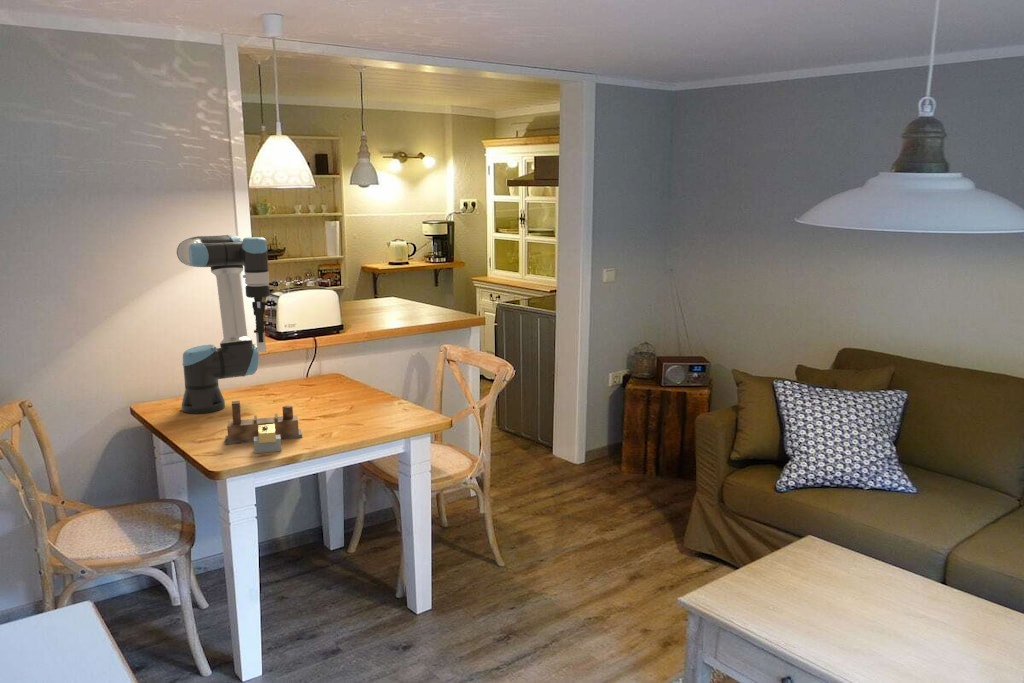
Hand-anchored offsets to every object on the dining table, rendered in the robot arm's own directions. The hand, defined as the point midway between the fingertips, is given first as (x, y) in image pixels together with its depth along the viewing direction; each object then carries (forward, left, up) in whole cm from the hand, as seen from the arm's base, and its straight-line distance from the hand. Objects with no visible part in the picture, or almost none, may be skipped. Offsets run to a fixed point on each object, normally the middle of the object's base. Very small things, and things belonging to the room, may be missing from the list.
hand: (261, 347), depth 255 cm
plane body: (+9, -1, -29) cm, 30 cm away
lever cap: (+22, 0, -25) cm, 33 cm away
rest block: (+22, 0, -29) cm, 36 cm away
